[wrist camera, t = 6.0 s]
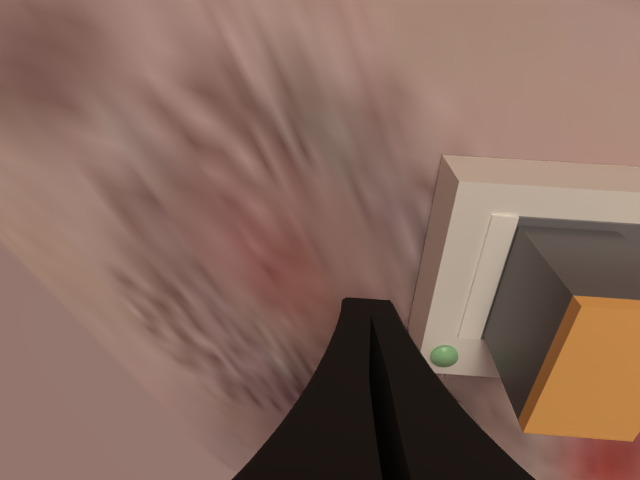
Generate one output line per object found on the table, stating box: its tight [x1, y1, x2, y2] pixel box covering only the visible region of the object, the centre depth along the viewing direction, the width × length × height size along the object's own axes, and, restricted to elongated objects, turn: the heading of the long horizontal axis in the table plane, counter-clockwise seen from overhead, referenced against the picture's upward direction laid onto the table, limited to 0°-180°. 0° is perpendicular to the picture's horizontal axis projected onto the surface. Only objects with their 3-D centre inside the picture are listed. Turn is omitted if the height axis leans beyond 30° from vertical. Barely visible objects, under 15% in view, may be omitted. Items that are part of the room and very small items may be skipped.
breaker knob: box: [483, 226, 640, 441], centre depth 12 cm, size 3×4×4 cm, turn 177°
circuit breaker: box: [408, 155, 640, 378], centre depth 15 cm, size 13×8×3 cm, turn 87°
